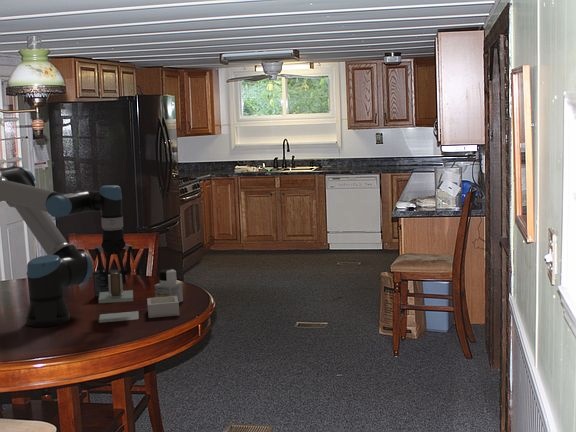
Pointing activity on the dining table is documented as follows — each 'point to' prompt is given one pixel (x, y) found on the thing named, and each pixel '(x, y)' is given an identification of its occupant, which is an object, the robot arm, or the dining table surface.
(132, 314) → the mat
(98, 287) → the small box
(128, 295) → the lid
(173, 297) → the dish
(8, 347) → the dining table surface
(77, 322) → the dining table surface
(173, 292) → the container
